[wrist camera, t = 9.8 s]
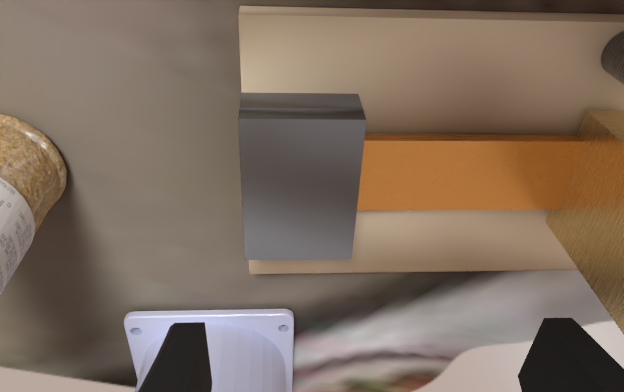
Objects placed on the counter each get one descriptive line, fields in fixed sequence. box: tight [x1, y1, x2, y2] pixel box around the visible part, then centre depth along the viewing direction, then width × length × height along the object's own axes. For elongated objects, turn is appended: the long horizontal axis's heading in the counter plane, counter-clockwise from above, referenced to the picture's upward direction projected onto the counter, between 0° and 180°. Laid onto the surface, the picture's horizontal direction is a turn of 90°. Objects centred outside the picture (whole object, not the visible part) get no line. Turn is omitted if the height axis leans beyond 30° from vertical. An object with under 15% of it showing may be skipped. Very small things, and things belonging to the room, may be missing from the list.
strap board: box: [238, 6, 624, 274], centre depth 20 cm, size 11×20×3 cm, turn 88°
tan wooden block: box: [357, 110, 624, 334], centre depth 17 cm, size 5×11×7 cm, turn 88°
